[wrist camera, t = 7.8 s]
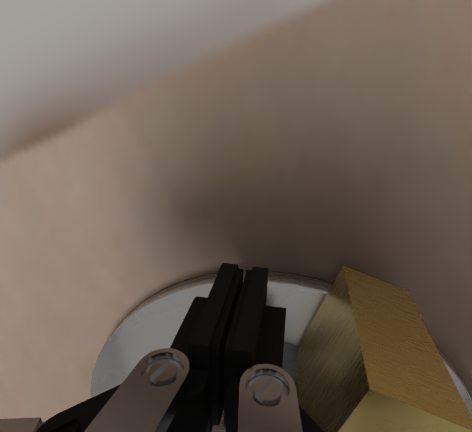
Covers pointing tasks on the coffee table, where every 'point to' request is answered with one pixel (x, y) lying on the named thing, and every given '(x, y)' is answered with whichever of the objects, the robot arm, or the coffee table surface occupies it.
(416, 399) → the castellated metal disc
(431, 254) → the coffee table surface
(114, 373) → the spindle plate
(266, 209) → the coffee table surface
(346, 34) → the coffee table surface
